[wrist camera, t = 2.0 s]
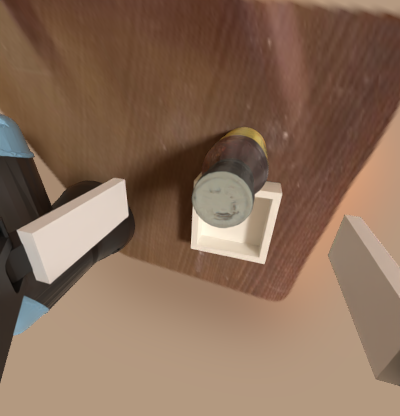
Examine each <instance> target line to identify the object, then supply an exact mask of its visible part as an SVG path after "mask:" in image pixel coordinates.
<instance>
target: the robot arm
mask: <svg viewBox="0 0 400 416" xmlns="http://www.w3.org/2000/svg"><path fill="white" fill-rule="evenodd" d="M33 157H34V154H33V153H32V152H31V151H30V149H29V147H28V145H27V143H26V141H25V138H24V136H23V134H22V132H21V130H20V128H19V126H18V125H17V123H16V122H15V121H13V120H12V119H11V118H9V117H7V116H5V115H2V114H0V381H1V378H2V374H3V371H4V367H5V363H6V359H7V356H8V352H9V349H10V345H11V341H12V337H13V336H14V335H17V334H20V333H22V332H24V331H25V330H26V329H28V328H29V327H30V326H31V325H32V324H33V323H34V322H36V321H37V320H38V319H39V318H40V317H41V316H42V315H43V314H46V313H47V312H48V311H49V310H50V309H51V307H52V306H54V304H55V303H56V302H57V301H58V300H59V299H60V298H61V297H62V296H63V295H64V294H65V293H66V292H67V291H68V290H69V289H70V288H71V287H72V286H73V285H74V284H75V283H76V282H77V281H78V280H79V279H80V278H81V277H82V276H83V275H84V274H85V273H86V272H87V271H88V270H89V269H90V268H91V267H92V265H94V264H95V263H96V262H97V261H100V260H102V259H104V258H106V257H107V256H109V255H111V254H114V253H116V252H118V251H120V250H121V249H123V248H124V247H125V246H126V245H127V244H128V243H129V241H130V240H131V239H132V237H133V235H134V230H135V223H134V218H133V214H132V212H131V210H130V208H129V206H128V205H127V195H126V186H125V179H119V178H113V179H111V180H109V181H107V182H106V183H104V184H102V183H99V182H95V181H83V182H79V183H77V184H75V185H73V186H71V187H69V188H68V189H66V190H65V191H64V192H63V194H62V195H61V196H60V198H59V199H58V200H57V201H56V202H55V203H54V204H53V205H52V206H51V203H50V201H49V198H48V196H47V194H46V191H45V188H44V185H43V183H42V180H41V178H40V175H39V173H38V171H37V168H36V165H35V162H34V160H33ZM328 257H329V259H330V262H331V265H332V267H333V270H334V272H335V275H336V277H337V280H338V283H339V285H340V288H341V291H342V293H343V296H344V298H345V301H346V303H347V306H348V308H349V311H350V314H351V316H352V319H353V322H354V324H355V327H356V329H357V332H358V334H359V337H360V340H361V342H362V345H363V348H364V350H365V353H366V355H367V358H368V360H369V363H370V366H371V368H372V371H373V373H374V376H375V378H376V379H377V380H381V381H384V382H388V383H391V384H394V385H398V386H400V267H399V266H398V265H397V263H396V262H395V261H394V259H393V258H392V257H391V255H390V254H389V253H388V252H387V250H386V249H385V248H384V247H383V245H382V244H381V243H380V241H379V240H378V239H377V237H376V236H375V235H374V234H373V232H372V231H371V230H370V229H369V227H368V226H367V225H366V224H365V222H364V221H363V220H362V218H361V217H357V216H350V215H344V218H343V220H342V222H341V225H340V227H339V230H338V232H337V234H336V237H335V239H334V242H333V244H332V246H331V249H330V251H329V254H328Z"/></svg>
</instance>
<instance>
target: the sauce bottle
mask: <svg viewBox="0 0 400 416" xmlns="http://www.w3.org/2000/svg"><path fill="white" fill-rule="evenodd" d="M267 177H268V159H267V151H266V145H265V141H264V139H263V137H262V136H261V135H260V134H259V133H258V132H257V131H255V130H253V129H251V128H247V127H240V128H236V129H234V130H232V131H230V132H229V133H228V134H226V135H225V136H224V137H223V138H221V139H220V140H219V141H218V142H217V143H215V144H214V146H213V147H212V148H211V149H210V150H209V152H208V153H207V154H206V156H205V159H204V161H203V163H202V176H201V177H200V179H199V180H198V181H197V183H196V184H195V186H194V189H193V193H192V204H193V207H194V209H195V211H196V213H197V214H198V216H199V217H200V218H201V219H202V220H203V221H204V222H206V223H207V224H209V225H211V226H214V227H218V228H228V227H233V226H236V225H239V224H240V223H242V222H243V221H245V220H246V219H247V217H248V216H249V215H250V213H251V211H252V209H253V204H254V199H255V194H256V193H257V192H259V191H260V190H261V188H262V187H263V186H264V184H265V182H266V180H267Z"/></svg>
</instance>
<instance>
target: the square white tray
mask: <svg viewBox="0 0 400 416" xmlns="http://www.w3.org/2000/svg"><path fill="white" fill-rule="evenodd" d="M201 176H202V172H201V173H200V174H199V175H198V177H197V178H196V179H195V180H194V186H195V184H196V183H197V181H198V180H199V179H200V177H201ZM281 197H282V189H281V184H280V183H275V182H268V181H266V182H265V184H264V186H263V187H262V188H261V190H260V191H259V192H257V193H256V194H255V199H254V204H253V209H252V211H251V213H250V215H249V216H248V217H247V219H246V220H245V221H243V222H242V223H240V224H239V225H236V226H233V227H228V228H218V227H214V226H211V225H209V224H207V223H206V222H204V221H203V220H202V219H201V218H200V217H199V216H198V214H197V213H196V211H195V209H194V207H193V214H192V235H191V249H196V250H201V251H205V252H210V253H215V254H219V255H224V256H229V257H234V258H238V259H243V260H248V261H253V262H257V263H262V264H265V260H266V256H267V252H268V248H269V244H270V240H271V236H272V233H273V229H274V225H275V221H276V217H277V213H278V209H279V205H280V201H281Z"/></svg>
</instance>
